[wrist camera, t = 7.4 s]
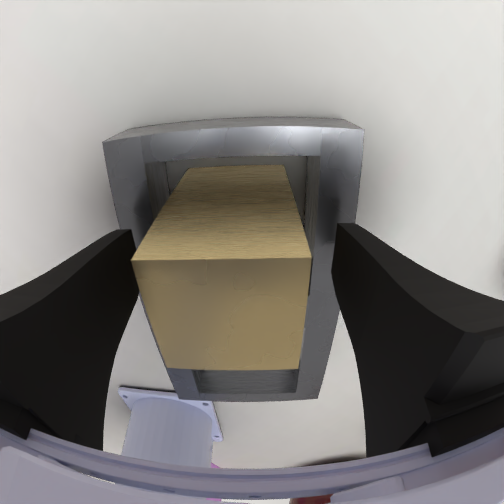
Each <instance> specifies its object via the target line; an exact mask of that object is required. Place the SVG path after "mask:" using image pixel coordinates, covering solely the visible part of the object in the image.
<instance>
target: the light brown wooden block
mask: <svg viewBox="0 0 504 504" xmlns="http://www.w3.org/2000/svg"><path fill="white" fill-rule="evenodd" d="M311 260H312V256H311V253H310V249H309V246H308V242H307V239H306V236H305V232H304V229H303V225H302V222H301V219H300V216H299V212H298V209H297V206H296V203H295V199H294V196H293V193H292V190H291V187H290V184H289V180H288V177H287V174H286V171H285V168H284V165H242V166H217V167H199V168H188V170H187V171H186V173H185V174H184V176H183V177H182V179H181V180H180V182H179V183H178V185H177V186H176V188H175V189H174V191H173V192H172V194H171V195H170V197H169V198H168V200H167V202H166V203H165V205H164V206H163V208H162V209H161V211H160V213H159V214H158V216H157V217H156V219H155V221H154V222H153V224H152V226H151V227H150V229H149V230H148V232H147V234H146V235H145V237H144V239H143V241H142V242H141V244H140V246H139V247H138V249H137V251H136V252H135V254H134V256H133V258H132V259H131V262H132V266H133V270H134V273H135V276H136V280H137V283H138V286H139V290H140V293H141V296H142V299H143V302H144V305H145V308H146V312H147V315H148V317H149V320H150V323H151V326H152V329H153V332H154V335H155V337H156V340H157V343H158V346H159V348H160V351H161V354H162V356H163V359H164V362H165V364H166V367H167V368H179V369H199V370H282V369H298V366H299V359H300V352H301V345H302V338H303V330H304V323H305V315H306V306H307V298H308V289H309V280H310V270H311Z"/></svg>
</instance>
